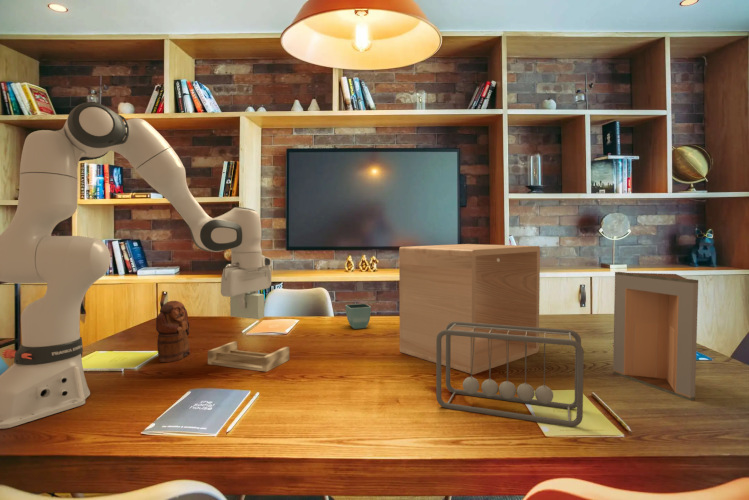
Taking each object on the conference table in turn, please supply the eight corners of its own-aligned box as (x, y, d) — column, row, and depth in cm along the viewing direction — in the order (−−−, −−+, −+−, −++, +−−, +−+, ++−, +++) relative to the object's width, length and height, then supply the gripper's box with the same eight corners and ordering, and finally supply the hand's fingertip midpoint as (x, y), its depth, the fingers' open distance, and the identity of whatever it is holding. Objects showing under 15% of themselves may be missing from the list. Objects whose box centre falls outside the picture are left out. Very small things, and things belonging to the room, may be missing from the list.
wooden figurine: (175, 363, 134) (173, 304, 133) (154, 363, 134) (153, 304, 133) (194, 352, 145) (192, 298, 144) (175, 352, 146) (174, 297, 145)
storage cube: (471, 375, 121) (472, 249, 120) (399, 352, 144) (399, 246, 142) (538, 352, 143) (540, 245, 142) (467, 335, 166) (467, 243, 164)
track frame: (266, 371, 125) (266, 357, 125) (207, 364, 133) (207, 350, 132) (289, 359, 136) (289, 347, 136) (234, 353, 144) (233, 341, 144)
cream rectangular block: (258, 319, 131) (258, 295, 131) (230, 316, 135) (230, 293, 134) (264, 317, 134) (264, 294, 133) (236, 314, 137) (236, 292, 137)
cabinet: (613, 373, 122) (615, 272, 121) (638, 369, 126) (640, 270, 124) (690, 400, 103) (693, 280, 101) (717, 394, 106) (721, 278, 105)
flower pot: (345, 326, 183) (344, 304, 183) (365, 324, 186) (365, 303, 185) (350, 330, 175) (350, 308, 174) (371, 329, 177) (371, 306, 177)
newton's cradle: (435, 407, 100) (435, 329, 99) (446, 391, 110) (446, 320, 109) (582, 429, 89) (584, 341, 88) (579, 409, 98) (581, 330, 97)
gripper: (233, 264, 122) (234, 314, 123) (274, 259, 141) (275, 302, 142) (214, 264, 125) (215, 312, 125) (258, 258, 144) (258, 301, 144)
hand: (247, 307), depth 134 cm, fingers closed on cream rectangular block, 3 cm apart
